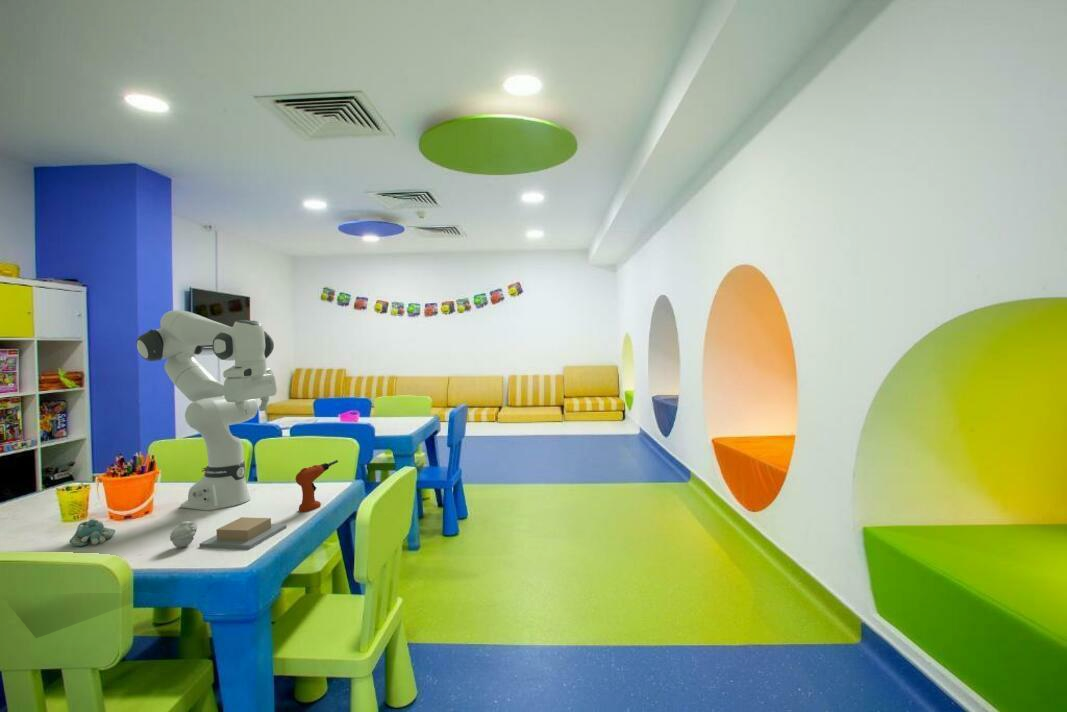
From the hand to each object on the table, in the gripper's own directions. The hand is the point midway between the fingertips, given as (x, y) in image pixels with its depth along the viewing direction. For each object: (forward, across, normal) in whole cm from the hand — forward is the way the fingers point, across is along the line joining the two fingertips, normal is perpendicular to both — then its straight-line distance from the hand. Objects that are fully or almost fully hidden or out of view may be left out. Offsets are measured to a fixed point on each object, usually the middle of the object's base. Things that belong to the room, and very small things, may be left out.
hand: (253, 412), depth 164 cm
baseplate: (+35, +13, +5) cm, 38 cm away
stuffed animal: (+36, +19, -40) cm, 57 cm away
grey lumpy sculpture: (+36, +21, -8) cm, 42 cm away
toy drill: (+35, -17, +12) cm, 41 cm away
